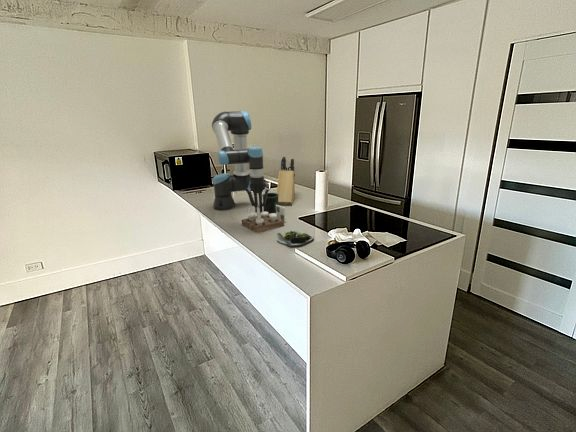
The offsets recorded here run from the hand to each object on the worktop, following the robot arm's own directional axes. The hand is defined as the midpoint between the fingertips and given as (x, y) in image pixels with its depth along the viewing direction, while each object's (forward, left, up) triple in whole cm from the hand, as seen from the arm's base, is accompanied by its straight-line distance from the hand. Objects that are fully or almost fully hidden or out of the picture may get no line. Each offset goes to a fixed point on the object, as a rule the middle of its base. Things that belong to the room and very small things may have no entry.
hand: (259, 217), depth 175 cm
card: (-4, +19, -7) cm, 20 cm away
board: (-4, +4, -7) cm, 9 cm away
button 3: (-9, +9, -6) cm, 14 cm away
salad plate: (+26, +5, -7) cm, 28 cm away
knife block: (-41, +48, -7) cm, 64 cm away
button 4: (0, +9, -5) cm, 10 cm away
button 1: (-9, 0, -5) cm, 10 cm away
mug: (-23, +22, -7) cm, 33 cm away
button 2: (0, 0, -6) cm, 6 cm away
